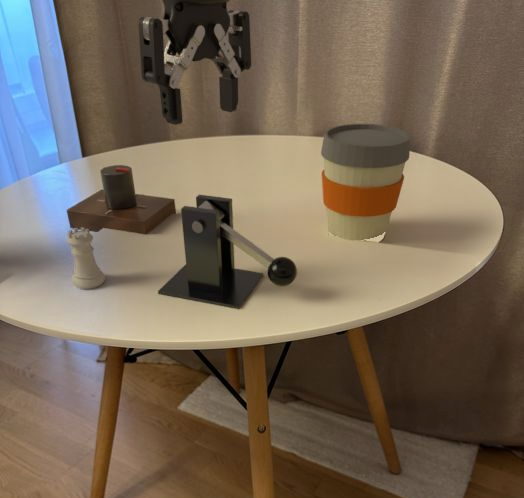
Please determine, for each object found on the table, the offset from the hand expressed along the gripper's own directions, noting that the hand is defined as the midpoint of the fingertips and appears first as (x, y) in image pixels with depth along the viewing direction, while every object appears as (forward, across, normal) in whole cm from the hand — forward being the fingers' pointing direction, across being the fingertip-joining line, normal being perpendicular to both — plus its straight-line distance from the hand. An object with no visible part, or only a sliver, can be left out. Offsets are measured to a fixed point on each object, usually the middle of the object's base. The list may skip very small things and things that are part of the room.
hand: (202, 116), depth 65 cm
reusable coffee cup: (+20, -24, +8) cm, 32 cm away
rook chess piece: (+20, +14, -8) cm, 26 cm away
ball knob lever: (+15, +2, +8) cm, 17 cm away
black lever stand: (+20, +4, +5) cm, 21 cm away
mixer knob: (+17, -2, -23) cm, 29 cm away
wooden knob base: (+20, -2, -23) cm, 31 cm away
